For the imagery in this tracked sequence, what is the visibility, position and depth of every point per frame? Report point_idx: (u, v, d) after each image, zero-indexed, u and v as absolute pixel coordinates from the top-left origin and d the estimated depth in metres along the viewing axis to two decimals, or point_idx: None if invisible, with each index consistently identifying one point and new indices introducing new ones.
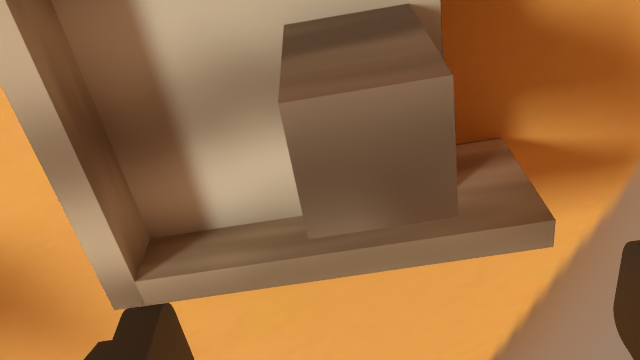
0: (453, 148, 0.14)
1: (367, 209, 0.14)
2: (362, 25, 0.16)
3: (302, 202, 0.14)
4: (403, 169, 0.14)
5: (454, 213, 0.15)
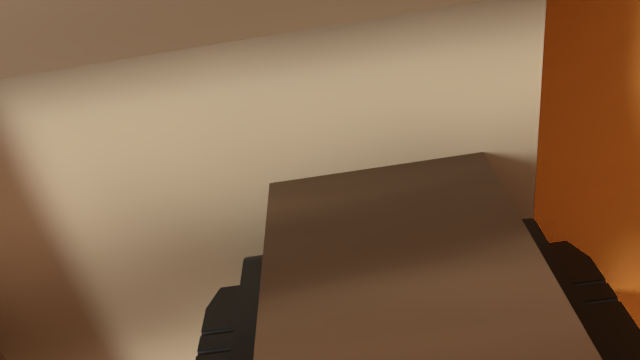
0: None
1: None
2: (408, 207, 0.09)
3: None
4: None
5: None
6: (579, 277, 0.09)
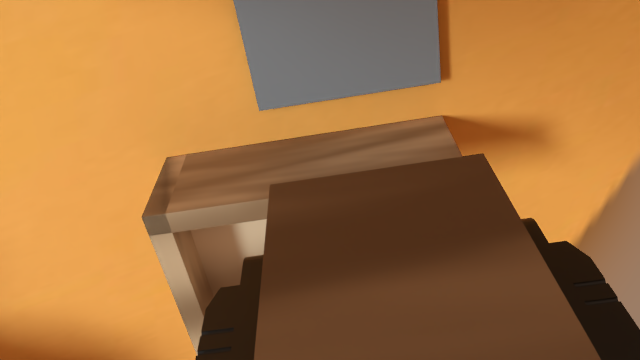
0: None
1: None
2: (408, 209, 0.09)
3: None
4: None
5: None
6: (579, 277, 0.09)
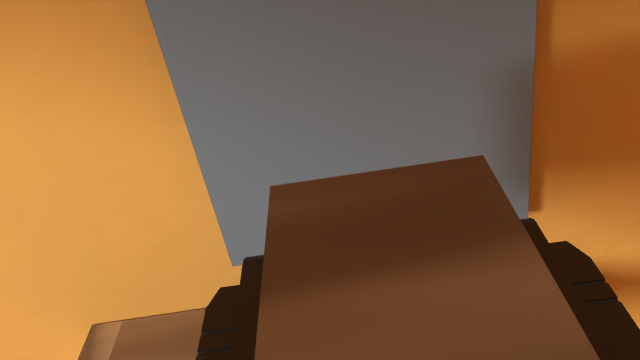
0: None
1: None
2: (409, 211, 0.09)
3: None
4: None
5: None
6: (579, 277, 0.09)
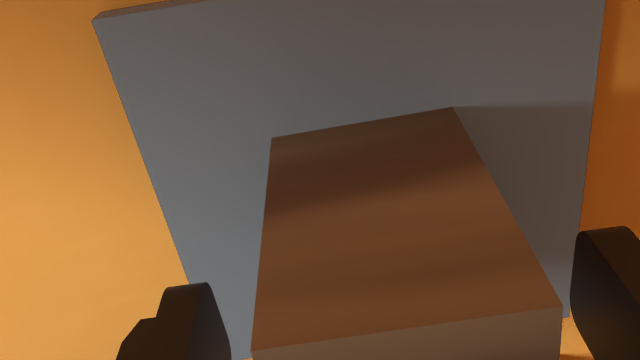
0: None
1: None
2: (387, 150, 0.11)
3: None
4: None
5: None
6: None
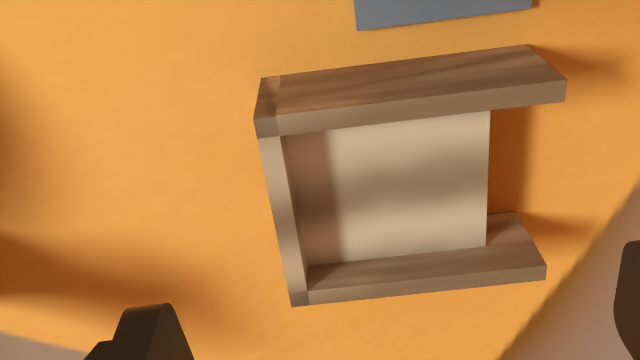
0: None
1: None
2: None
3: None
4: None
5: None
6: None
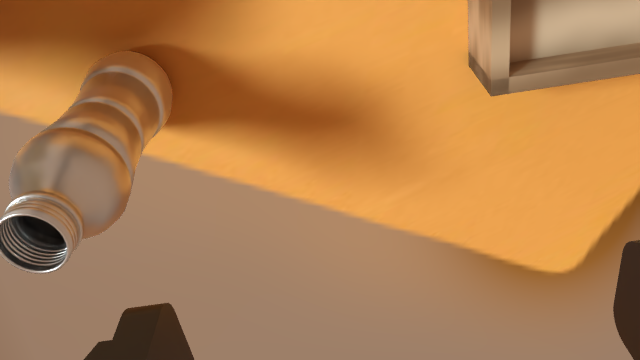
0: None
1: None
2: None
3: None
4: None
5: None
6: None
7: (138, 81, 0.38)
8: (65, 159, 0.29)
